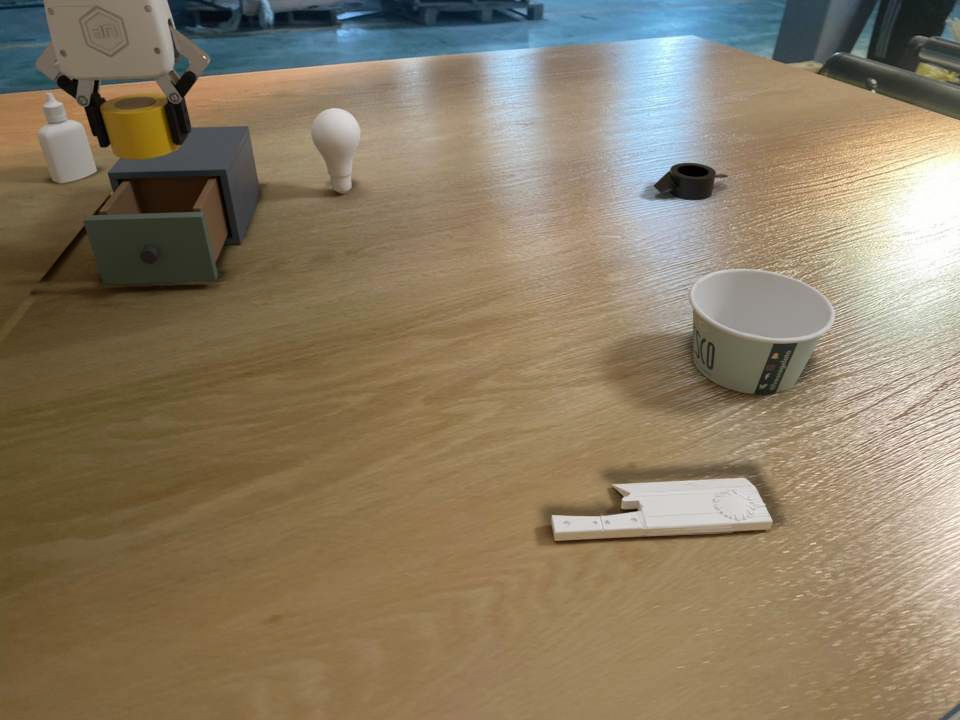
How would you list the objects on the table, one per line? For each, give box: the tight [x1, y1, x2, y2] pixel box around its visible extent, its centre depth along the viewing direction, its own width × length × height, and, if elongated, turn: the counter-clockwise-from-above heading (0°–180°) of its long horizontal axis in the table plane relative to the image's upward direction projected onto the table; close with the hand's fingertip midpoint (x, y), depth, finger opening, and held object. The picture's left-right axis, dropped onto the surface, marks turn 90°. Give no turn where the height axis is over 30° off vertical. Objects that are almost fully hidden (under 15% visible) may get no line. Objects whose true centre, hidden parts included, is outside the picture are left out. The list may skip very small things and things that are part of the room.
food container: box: [688, 268, 836, 395], centre depth 67 cm, size 12×12×6 cm
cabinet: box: [107, 125, 261, 246], centre depth 91 cm, size 15×13×9 cm
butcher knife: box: [550, 477, 773, 542], centre depth 54 cm, size 5×15×1 cm, turn 94°
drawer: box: [82, 176, 230, 286], centre depth 82 cm, size 15×11×7 cm
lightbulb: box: [310, 107, 362, 195], centre depth 97 cm, size 6×6×11 cm
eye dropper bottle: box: [37, 92, 98, 184], centre depth 100 cm, size 4×6×12 cm
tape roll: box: [100, 93, 180, 160], centre depth 75 cm, size 6×6×4 cm
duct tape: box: [653, 162, 729, 201], centre depth 100 cm, size 8×10×3 cm
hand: (145, 140), depth 76 cm, fingers closed on tape roll, 6 cm apart
